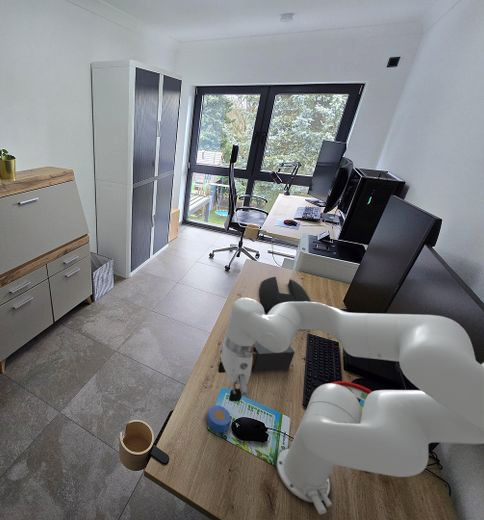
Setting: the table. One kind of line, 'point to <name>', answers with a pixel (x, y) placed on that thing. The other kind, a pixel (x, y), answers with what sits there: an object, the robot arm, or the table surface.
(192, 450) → the table surface
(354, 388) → the toy clock
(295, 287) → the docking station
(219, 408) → the tape roll
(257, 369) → the cabinet
